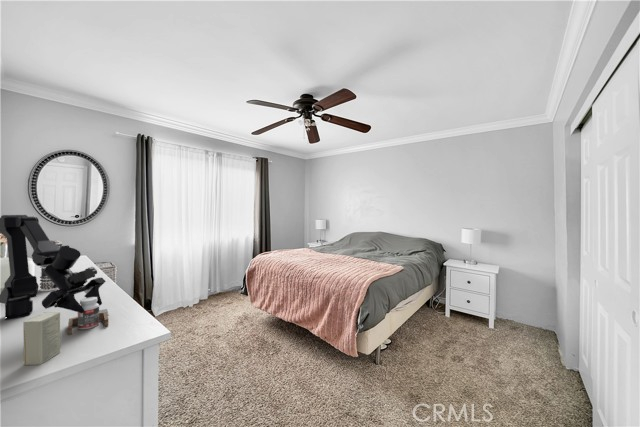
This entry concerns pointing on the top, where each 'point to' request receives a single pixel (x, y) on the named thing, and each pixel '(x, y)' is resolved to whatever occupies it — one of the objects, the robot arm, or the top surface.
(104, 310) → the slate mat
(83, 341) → the top surface
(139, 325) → the top surface
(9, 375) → the top surface
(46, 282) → the decorative candle
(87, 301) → the pill bottle
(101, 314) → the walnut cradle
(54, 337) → the skincare box
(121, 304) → the top surface
